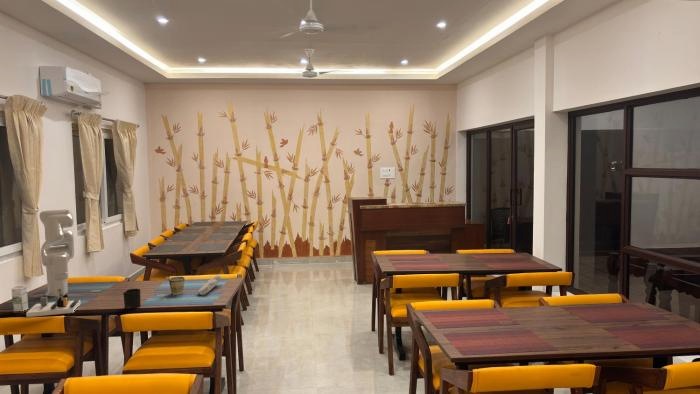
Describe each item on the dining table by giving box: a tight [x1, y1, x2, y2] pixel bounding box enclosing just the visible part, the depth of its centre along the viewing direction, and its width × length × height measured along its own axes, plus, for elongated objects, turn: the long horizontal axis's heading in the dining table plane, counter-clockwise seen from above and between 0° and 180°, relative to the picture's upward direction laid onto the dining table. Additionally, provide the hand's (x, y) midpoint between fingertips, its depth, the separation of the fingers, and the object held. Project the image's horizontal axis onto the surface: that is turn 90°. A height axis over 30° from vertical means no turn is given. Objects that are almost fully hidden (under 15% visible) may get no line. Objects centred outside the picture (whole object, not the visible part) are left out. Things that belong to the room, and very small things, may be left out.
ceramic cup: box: [168, 276, 186, 296], centre depth 332 cm, size 13×10×10 cm
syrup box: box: [11, 285, 29, 312], centre depth 298 cm, size 6×6×14 cm
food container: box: [196, 274, 222, 296], centre depth 338 cm, size 12×30×6 cm, turn 178°
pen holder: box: [122, 288, 142, 310], centre depth 302 cm, size 9×9×10 cm
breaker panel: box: [25, 299, 82, 318], centre depth 299 cm, size 18×24×3 cm
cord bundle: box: [51, 297, 80, 310], centre depth 300 cm, size 15×12×2 cm
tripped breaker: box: [63, 297, 69, 306], centre depth 298 cm, size 2×3×4 cm
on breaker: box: [40, 296, 49, 306], centre depth 300 cm, size 2×3×4 cm
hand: (62, 304), depth 295 cm, fingers open, 9 cm apart
